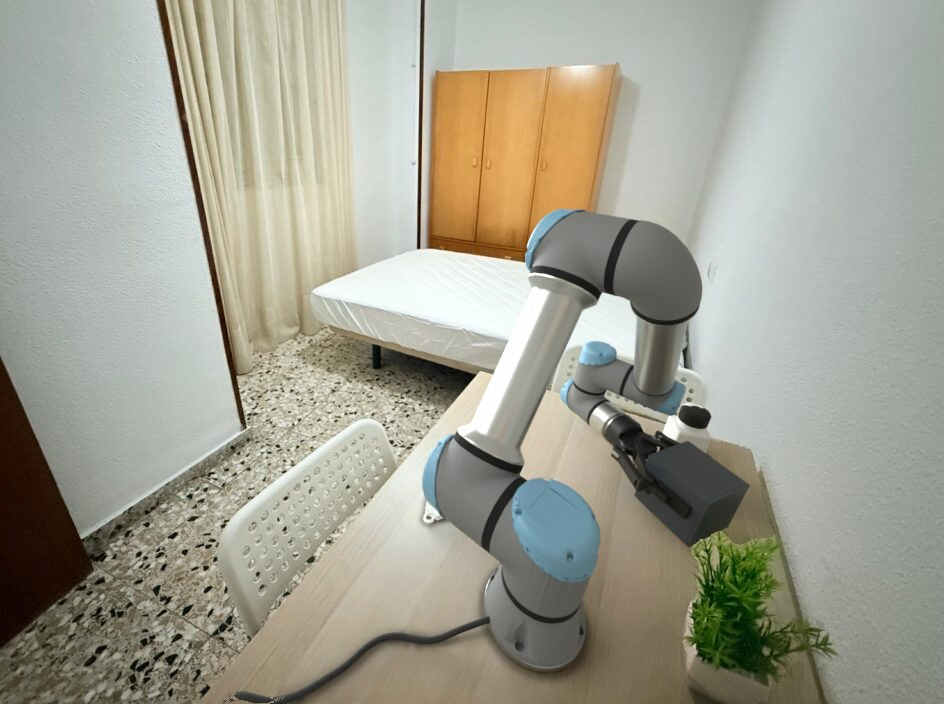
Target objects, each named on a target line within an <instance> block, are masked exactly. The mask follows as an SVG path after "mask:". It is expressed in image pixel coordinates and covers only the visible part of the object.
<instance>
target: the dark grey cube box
mask: <svg viewBox="0 0 944 704" xmlns="http://www.w3.org/2000/svg"><path fill="white" fill-rule="evenodd" d="M644 468H645V469H646V470H648V471H649V472H650V473H651V474H652V475H653V477H654V479H655V483H656V482H657V481H659V480H660V481H661V482H662V483H664V484H665V485H666V486H667V487H668V488H669V489H671V490H672V491H673V492H674V493H675V494H676V495H678V496H679V497H680V498H681V499H682V500H683V501H685V502H686V503H687V504H688V505H689V506H690V507H692V508H691V511H690V513H689V515H688V517H687V519H685V520H684V519H683V518H682V517H681V516H679V515H678V514H677V513H676V512H675V511H674V510H673V509H672V508H671V507H669V506H668V505H667V504H666V503H663V502H661V501H660V500H659V499H658V498H657V497H656V496H655V495H654V494H652V493H650V494H646V493H644V490H642V491H641V492H638V491H637V490H636V489H635V491H634V494H633V497H635V499H637V500H638V501H639V502H640V504H642V505H643V506H644V507H645V508H646V509H647V510H648V511H649V512H650V513H651V514H652V515H654V516H655V517H656V518H657V519H658V520H659V521H660V522H661V523H662V525H664V526H665V527H666V528H667V529H668V530H669V531H670V532H671V533H673V534H674V535H675V536H676V538H678V539H679V540H680V541H681V542H682V543H683V544H684V545H685V546H686V547H687V548H690V547H693V546H695V545H697V544H698V543H699V542H698V541H699V540H700V539H704V540H706V539H708V538H710V537H712V536H711V534H713V533H715V532H717V531H720V532H722V531H724V530H725V529H727V528H729V526H730V524H731V522H732V521H733V519H734V517H735V515H736V513H737V511H738V509H739V507H740V505H741V504H742V502H743V501H744V498H745V496H746V494H747V492H748V490H749V489H750V488H751V484H750V483H748V482H746V481H745V480H744V479H742V478H741V477H740V476H738V475H737V474H735V473H734V472H733V471H732V470H730V469H728V468H727V467H725V466H724V465H722V464H721V463H720V462H718V461H717V460H716V459H715V458H713V457H711V456H710V455H709V454H708V453H707V452H706V453H705V452H703V451H702V450H700V449H699V448H698V447H696V446H695V445H693V444H692V443H691V442H689V441H686V442H683V443H680V444H677V445H675V446H672V447H669V448H666V449H664V450H661V451H659V450H657V452H656V453H653V454H650V455H649V456H648V459H647V462H646V465H645V467H644ZM697 542H698V543H697Z"/></svg>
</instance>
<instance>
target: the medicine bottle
mask: <svg viewBox="0 0 944 704" xmlns="http://www.w3.org/2000/svg"><path fill="white" fill-rule="evenodd" d="M711 419H712V414H711V412H710V411H709V410H708V409H707V408H705V407H704V406H702V405H700V404H697V403H692V402H686V403H684V404H682V405H680V409H679V411H678V413H677V414H674V415H672V416H668V417H667V420H666V422H665V425H664V429H663V430H662V433H663V434H664V435H666V436H667V437H669V438H671V439H673V440H675V441H677V442H679V443H683V442H686V441H689V442H691V443H692V444H693V445H695V446H696V447H698V448H699V449H700V450H702V451H703V452H705V453H706V454H707V453H708V450H709V448H710V446H711V443H712V441H713V437H712V435H711V434H710V432H709V431H708V429H707V428H708V427H709V424H710V421H711Z"/></svg>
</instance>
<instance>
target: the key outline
mask: <svg viewBox="0 0 944 704" xmlns="http://www.w3.org/2000/svg"><path fill="white" fill-rule="evenodd" d="M425 500H426V499H425ZM422 517H423V518H422V520H423V522H424V523H425V524H427V525H431V524H433V523H434V522H435V521H440V520H443V519H444V518H443V517H441V516H440V514H439V513H438V511H437V510H436V509H434V508H433V507H432V506H431V505H430V504H429V503H428V502H427V500H426V501H425V507H424V514H423V516H422ZM428 517H430V518H431V519H427V518H428Z"/></svg>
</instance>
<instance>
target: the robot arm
mask: <svg viewBox="0 0 944 704" xmlns="http://www.w3.org/2000/svg"><path fill="white" fill-rule="evenodd" d="M526 249H527V251H526V252H525V256H524V259H525V260H524V261H525V266H526V268H527V270H528V271H529V274H528V276H527V279H528V282H529V286H530V287H531V291H530V294H529V296H528V298H527V300H526V302H525V304H524V306H523V309H522V311H521V313H520V315H519V317H518V320H517V322H516V324H515V326H514V328H513V331H512V333H511V335H510V337H509V338H508V342H507V344H506V345H505V348H504V349H503V352H502V355H500V359H499V361H498V363H497V365H496V367H495V370H494V372H493V374H492V376H491V378H490V381H489V382H488V385H487V387H486V389H485V392H484V394H483V396H482V398H481V400H480V402H479V405H478V406H477V409H476V411H475V412H474V415H473V418H472V419H471V421H470V422H469V423H467V424H463V425H461V426H458V427H457V429H456V431H455V433H454V434H453V433H450V434H447V435H444V436H443V437H442V438H440V439H439V441H438V442H437V445H435V446H433V448H432V449H431V451H430V453H429V455H428V456H427V459H426V462H425V464H424V468H423V471H422V477H421V488H422V492H423V496H424V499H425V500H427V502H428V503H429V504H430V505H431V506H432V507H433V508H434V509H436V510H437V511H438V513H439V514H440V516H441V517H443V519H444V520H446V521H448V522H449V523H451V524H452V525H453V526H454V527H455V528H457V529H458V530H459V531H460V532H461V533H463V534H464V535H466V537H468V538H469V539H470V540H472V541H473V542H474V543H475V544H476V545H478V546H479V547H480V548H481V549H483V550H484V551H485V552H486V553H488V554H490V555H491V556H492V557H493V558H494V559H495V560H497V561H498V562H499V563H500V564H499V565H498V566H497V567H496V568H495V570H494V571H493V572H492V573H491V575H490V577H489V579H488V581H487V583H486V586H485V591H484V598H483V617H480V618H478V619H475V620H473V621H469V622H466V623H464V624H462V625H459V626H457V627H455V628H452V629H450V630H448V631H445V632H444V633H440V634H438V635H437V634H436V635H432V636H420V635H415V634H411V633H405V632H395V631H394V632H388V633H383V634H381V635H378V636H376V637H373V638H372V639H371V640H369V641H367V642H366V643H365V644H364V645H362V646H361V647H360V648H359V649H358V650H357V651H356V652H354V653H353V654H352V655H351V656H350V657H349V658H347V660H345V661H344V662H343V663H342V664H340V665H338V666H337V667H336V668H334V669H333V670H331V671H330V672H328V673H326V674H325V675H323V676H322V677H319V678H318V679H316V680H315V681H313V682H311V683H310V684H308V685H306V686H305V687H302V688H301V689H298V690H296V691H293V692H290V693H287V694H283V695H280V696H279V695H278V696H272V697H273V699H271V698H270V697H271V696H267V695H261V694H257V693H254V692H251V691H250V692H249V691H244V690H243V691H242V690H239V692H238V691H235V692H236V694H235V695H234V696H235V697H236V698H238V699H239V700H238V701H242V700H244V702H247V701H248V703H251V704H256V703H257V704H258V703H269V702H271V701H274V703H270V704H288V703H289V704H290V703H292V702H294V701H297V700H300V699H302V698H304V697H306V696H308V695H310V694H311V693H313V692H315V691H316V690H318V689H320V688H321V687H323V686H324V685H326V684H328V683H329V682H331V681H332V680H334V679H335V678H337V677H338V676H340V675H342V674H343V673H344V672H346V671H347V670H348V669H349V668H350V667H352V666H353V665H354V664H355V663H357V662H358V660H359V659H360V658H361V657H363V655H365V654H366V653H367V652H369V650H371V649H373V648H374V647H376V646H377V645H379V644H382V643H384V642H388V641H403V642H409V643H414V644H418V645H419V644H420V645H433V644H439V643H443V642H445V641H447V640H450V639H452V638H454V637H457V636H459V635H460V634H462V633H463V634H464V633H466V632H468V631H471V630H473V629H476V628H479V627H482V626H485V625H486V627H487V630H488V632H489V634H490V636H491V638H492V639H493V641H494V643H495V645H496V646H497V647H498V648H499V650H500V651H501V652H502V653H503V654H504V655H505V656H506V657H507V658H508V659H509V660H510V661H512V662H514V663H515V664H516V665H518V666H519V667H522V668H524V669H526V670H528V671H532V672H535V673H541V674H551V673H556V672H557V673H558V672H560V671H563V670H565V669H566V668H567V667H569V666H570V665H571V664H572V663H574V661H575V660H576V659H577V657H578V656H579V654H580V653H581V651H582V648H583V644H584V641H585V638H586V633H587V632H586V631H587V618H586V612H585V606H584V601H583V600H584V597H585V594H586V591H587V587H588V584H589V582H590V580H591V579H590V578H591V576H592V574H593V573H594V571H595V569H596V567H597V564H598V558H599V557H598V556H599V549H600V546H601V529H600V524H599V523H598V522H597V520H596V515H595V512H594V510H593V509H592V507H591V506H590V504H589V503H588V502H587V501H586V499H584V497H583V496H581V494H579V492H577V491H576V490H574V489H573V488H572V487H570V486H569V485H567V484H565V483H563V482H561V481H560V480H559V481H558V480H556V479H553V478H548V479H547V480H545V479H544V478H543V477H535V478H531V479H529V480H527V479H526V478H525V477H523V476H521V472H522V470H523V469H524V466H525V463H526V461H525V458H524V455H523V453H522V445H523V443H524V441H525V438H526V437H527V434H528V432H529V430H530V428H531V426H532V423H533V421H534V419H535V416H536V415H537V412H538V410H539V408H540V405H541V403H542V401H543V399H544V397H545V395H546V392H547V390H548V388H549V386H550V384H551V381H552V380H553V377H554V374H555V372H556V370H557V368H558V366H559V364H560V361H561V359H562V358H563V355H564V352H565V351H566V348H567V346H568V344H569V341H570V340H571V337H572V335H573V333H574V331H575V329H576V327H577V324H578V322H579V320H580V317H581V316H582V313H583V312H584V311H585V310H587V309H590V308H592V307H595V306H597V305H598V302H599V300H600V298H601V296H602V294H607V295H611V296H614V297H618V298H622V299H625V300H627V301H629V305H630V309H631V311H632V313H633V314H634V316H635V334H634V335H635V336H634V354H633V356H634V357H633V360H634V361H633V363H630V362H627V361H624V360H621V359H619V358H618V352H617V349H616V348H615V347H614V346H612V345H611V344H609V343H607V342H604V341H599V340H592V341H588V342H585V343H584V344H583V346H582V348H581V351H580V354H579V358H578V359H577V361H578V362H577V365H576V371H575V374H574V377H573V378H570V379H569V380H567V381H566V382H564V384H563V387H562V388H561V389H560V392H559V397H560V400H561V401H562V402H563V404H564V405H565V406H566V407H567V408H568V409H569V410H570V411H571V412H573V413H574V414H575V415H576V416H577V417H579V418H580V419H581V420H583V421H584V422H585V423H586V424H587V425H588V426H589V427H590V428H591V429H593V430H594V431H595V432H596V433H597V434H599V436H601V437H602V438H603V439H605V441H606V442H607V443H609V444H610V445H611V446H612V450H611V453H610V457H612V458H613V459H614V460H615V461H616V462H617V463H618V465H619V466H620V468H621V470H622V471H623V472H624V474H625V476H626V477H627V479H628V480H629V482H630V484H631V485H632V486H633V488H634V489H635V491H636V490H637V491H638V492H641V491H642V490H644V493H646V494H650V493H652V494H654V495H655V496H656V497H657V498H658V499H659V500H660V501H661V502H663V503H666V504H667V505H668V506H669V507H671V508H672V509H673V510H674V511H675V512H676V513H677V514H678V515H679V516H681V517H682V518H683V519H684V520H685V519H687V517H688V515H689V513H690V511H691V508H692V507H690V506H689V505H688V504H687V503H686V502H685V501H683V500H682V499H681V498H680V497H679V496H678V495H676V494H675V493H674V492H673V491H672V490H671V489H669V488H668V487H667V486H666V485H665V484H664V483H662V482H661V481H660V480H659V481H657V482H656V483H655V479H654V477H653V475H652V474H651V473H650V472H649V471H648V470H646V469H645V468H644V467H645V465H646V462H647V459H648V456H649V455H650V454H653V453H656V452H658V451H661V450H664V449H666V448H669V447H672V446H675V445H677V444H680V443H679V442H677V441H675V440H673V439H671V438H669V437H667V436H666V435H664V434H663V431H661V430H655V433H654V434H652V435H651V434H649V433H647V432H645V431H644V430H643V428H642V425H641V423H640V422H638V421H636V420H635V418H632V416H630V415H629V414H627V413H626V411H624V410H622V409H621V408H620V407H618V406H617V405H616V404H614V403H613V402H611V401H610V400H609V399H608V398H606V393H607V392H610V393H613V394H615V395H618V396H620V397H622V398H624V399H627V400H630V401H631V402H634V403H635V404H638V405H641V406H643V407H646V408H648V409H649V410H652V411H653V412H656V413H657V412H658V413H660V414H662V415H665V416H668V417H669V416H672V415H676V413H677V412H678V410H679V408H680V407H681V404H682V402H683V399H684V396H685V393H686V391H687V386H686V385H685V384H684V383H682V382H680V381H678V380H677V379H676V378H677V373H678V368H679V365H680V360H681V354H682V350H683V347H684V341H685V337H686V332H687V329H688V324H689V321H690V320H692V319H693V318H694V317H695V316H696V315H697V314H698V311H699V309H700V306H701V302H702V298H703V282H702V281H703V280H702V275H701V273H700V270H699V267H698V265H697V262H696V261H695V258H694V257H693V255H692V253H691V251H690V250H689V248H688V247H687V246H686V244H684V243H683V241H682V240H681V239H680V238H679V237H678V236H677V235H676V234H675V233H673V232H672V231H671V230H669V229H668V228H667V227H665V226H663V225H660V224H658V223H655V222H653V221H650V220H649V221H648V220H643V219H640V220H639V219H634V218H627V217H621V216H616V215H609V214H603V213H599V212H591V211H587V210H586V209H581V208H580V209H579V208H578V209H577V208H576V209H569V208H559V209H556V210H553V211H550V212H549V213H547V214H546V215H545V216H544V217H542V218H541V220H540V221H539V222H538V223H537V225H536V226H535V228H534V229H533V231H532V233H531V235H530V237H529V239H528V242H527V245H526ZM658 448H659V449H658ZM232 693H233V692H232ZM232 693H230V694H228V695H229V697H230V695H231V694H232ZM266 696H267V697H266ZM284 696H285V697H284ZM278 697H281V698H282V697H284V698H282V699H283V700H282V699H281V698H278ZM276 698H278V700H279V699H280V700H279V701H278V700H277V699H276ZM229 699H230V698H229ZM274 699H276V700H277V702H276V701H275V700H274ZM223 700H224V699H223ZM223 700H222V703H223V704H224V703H225V702H226V701H227V700H226V701H225V700H224V701H225V702H224V701H223ZM230 700H231V701H230ZM230 700H229V701H230V703H232V702H235V701H237V700H233V699H230Z"/></svg>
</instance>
